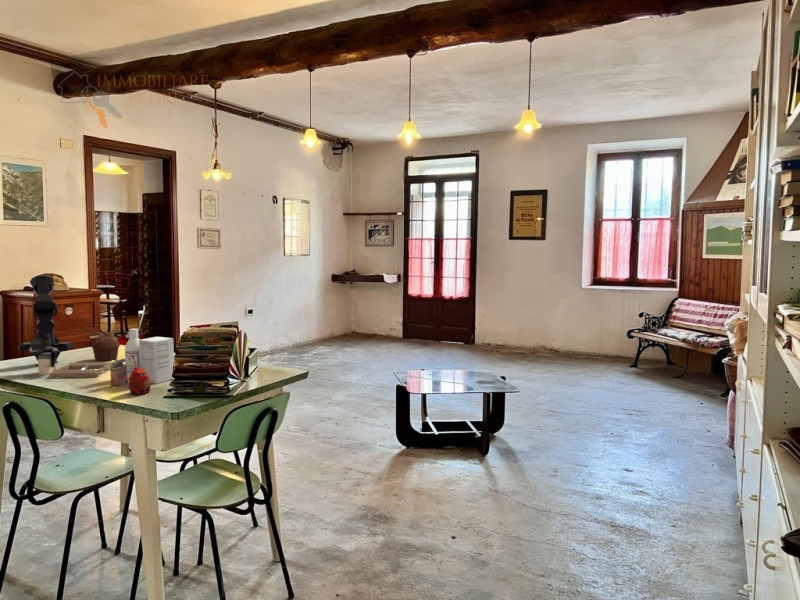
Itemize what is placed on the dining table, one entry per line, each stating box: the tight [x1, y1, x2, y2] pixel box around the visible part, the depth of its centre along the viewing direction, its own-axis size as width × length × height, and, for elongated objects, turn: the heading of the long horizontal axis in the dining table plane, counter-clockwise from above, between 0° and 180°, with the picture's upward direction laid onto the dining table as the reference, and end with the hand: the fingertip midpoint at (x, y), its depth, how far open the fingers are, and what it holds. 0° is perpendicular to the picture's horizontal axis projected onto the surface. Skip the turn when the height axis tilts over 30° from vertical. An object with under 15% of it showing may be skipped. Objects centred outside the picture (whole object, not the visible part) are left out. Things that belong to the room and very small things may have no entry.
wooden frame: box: [49, 361, 114, 379], centre depth 229 cm, size 19×18×2 cm
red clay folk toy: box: [128, 353, 152, 396], centre depth 199 cm, size 8×7×15 cm
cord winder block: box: [37, 353, 57, 375], centre depth 227 cm, size 6×4×8 cm, turn 8°
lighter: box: [109, 358, 129, 388], centre depth 210 cm, size 8×3×10 cm, turn 168°
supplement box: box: [139, 336, 175, 384], centre depth 218 cm, size 10×9×17 cm
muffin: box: [91, 337, 121, 362], centre depth 254 cm, size 12×11×10 cm
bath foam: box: [124, 328, 141, 380], centre depth 221 cm, size 7×7×20 cm
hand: (47, 366), depth 227 cm, fingers closed on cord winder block, 4 cm apart
